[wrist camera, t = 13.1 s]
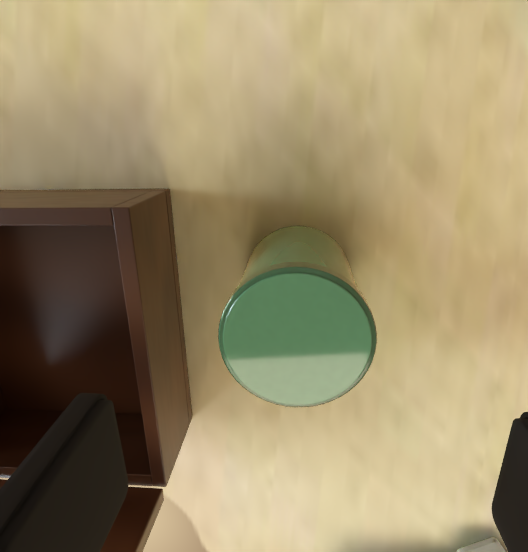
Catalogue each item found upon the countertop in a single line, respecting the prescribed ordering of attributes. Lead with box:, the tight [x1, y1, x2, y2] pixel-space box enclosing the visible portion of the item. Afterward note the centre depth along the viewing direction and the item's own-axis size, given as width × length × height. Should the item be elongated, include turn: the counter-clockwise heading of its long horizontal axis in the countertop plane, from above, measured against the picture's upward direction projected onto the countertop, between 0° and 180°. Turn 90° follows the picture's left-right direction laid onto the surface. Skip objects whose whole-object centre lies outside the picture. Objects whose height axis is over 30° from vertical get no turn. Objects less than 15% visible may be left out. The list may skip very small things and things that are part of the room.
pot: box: [218, 226, 377, 407], centre depth 20 cm, size 6×6×8 cm
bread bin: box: [0, 189, 192, 487], centre depth 23 cm, size 16×14×6 cm
